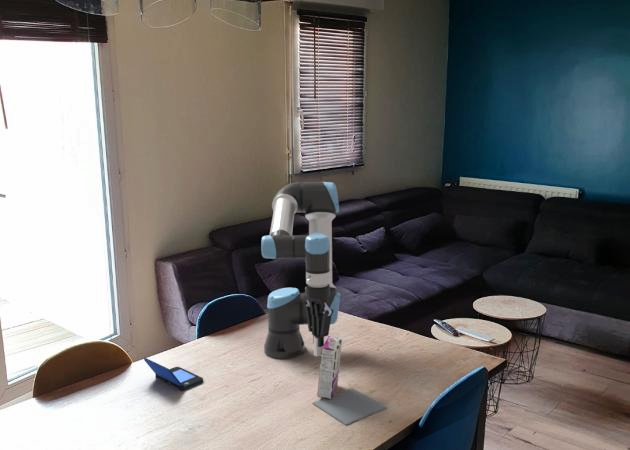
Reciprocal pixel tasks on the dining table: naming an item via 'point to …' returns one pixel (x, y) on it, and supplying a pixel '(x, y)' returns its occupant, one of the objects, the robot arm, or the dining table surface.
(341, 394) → the mat
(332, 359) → the candy bar box
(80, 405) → the dining table surface
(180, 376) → the handheld game console
